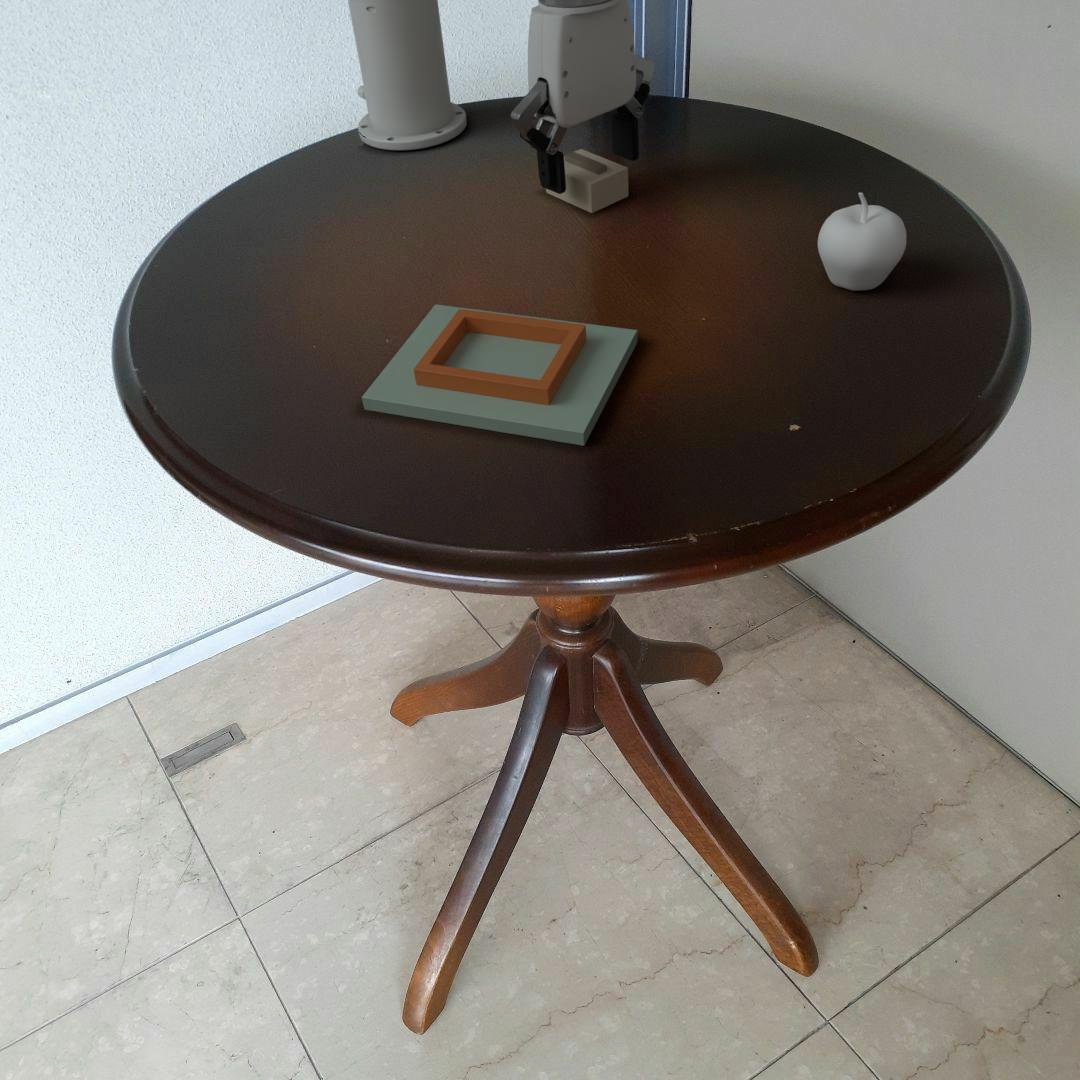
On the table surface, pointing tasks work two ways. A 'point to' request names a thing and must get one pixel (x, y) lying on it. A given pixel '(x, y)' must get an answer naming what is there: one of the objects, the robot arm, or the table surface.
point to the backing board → (504, 373)
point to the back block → (592, 181)
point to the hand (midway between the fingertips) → (590, 172)
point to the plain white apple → (861, 245)
